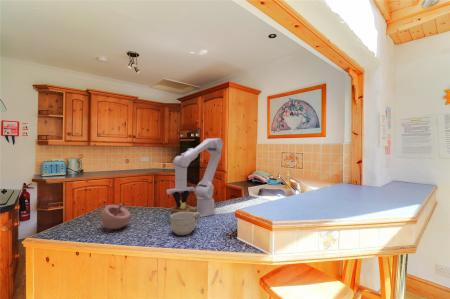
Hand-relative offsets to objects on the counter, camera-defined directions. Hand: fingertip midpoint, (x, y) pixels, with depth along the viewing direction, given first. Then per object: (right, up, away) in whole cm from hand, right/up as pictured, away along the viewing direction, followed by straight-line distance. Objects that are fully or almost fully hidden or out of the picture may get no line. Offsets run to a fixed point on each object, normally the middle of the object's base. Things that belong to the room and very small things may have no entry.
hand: (180, 206), depth 104 cm
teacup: (+5, -8, -13) cm, 16 cm away
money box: (+1, -7, +1) cm, 8 cm away
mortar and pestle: (-27, -7, -10) cm, 30 cm away
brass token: (0, -3, 0) cm, 3 cm away
